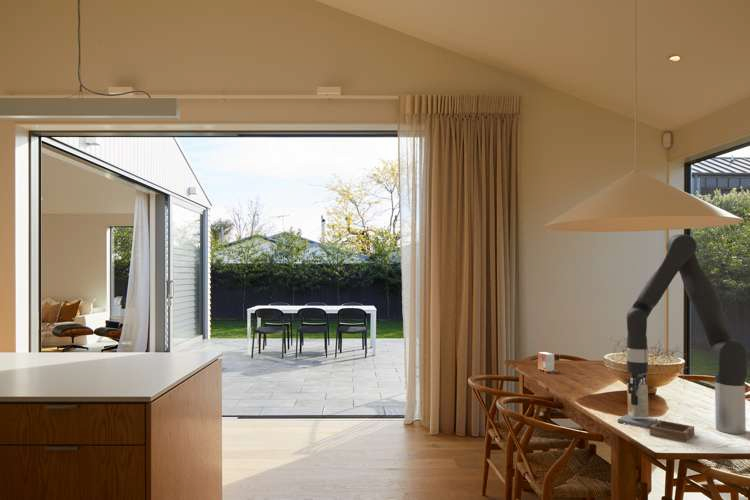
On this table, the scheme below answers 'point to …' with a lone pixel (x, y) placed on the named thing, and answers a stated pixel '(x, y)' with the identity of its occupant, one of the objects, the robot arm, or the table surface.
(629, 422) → the rubber mat
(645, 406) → the skincare box
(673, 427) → the pocket holder
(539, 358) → the small box
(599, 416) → the table surface
